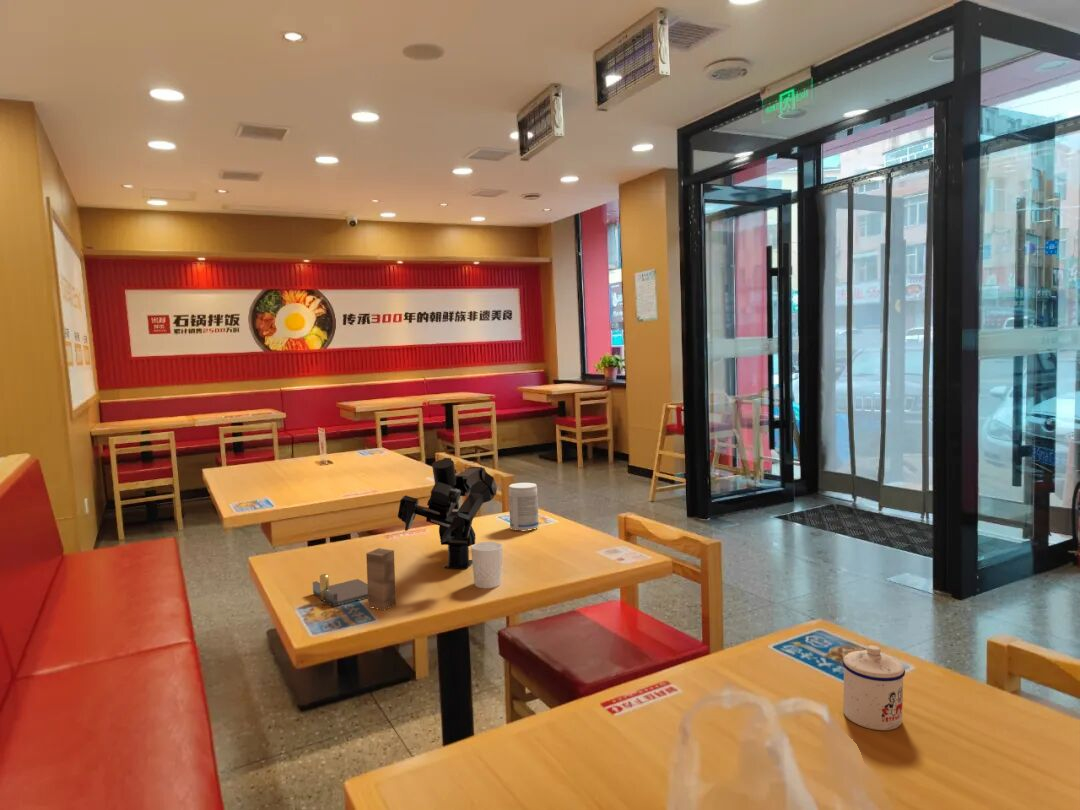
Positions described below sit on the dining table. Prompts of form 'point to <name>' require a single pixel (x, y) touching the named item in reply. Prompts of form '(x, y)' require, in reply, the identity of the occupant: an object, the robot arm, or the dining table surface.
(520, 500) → the supplement tub
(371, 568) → the walnut post
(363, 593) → the keeper plate
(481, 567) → the white cup
